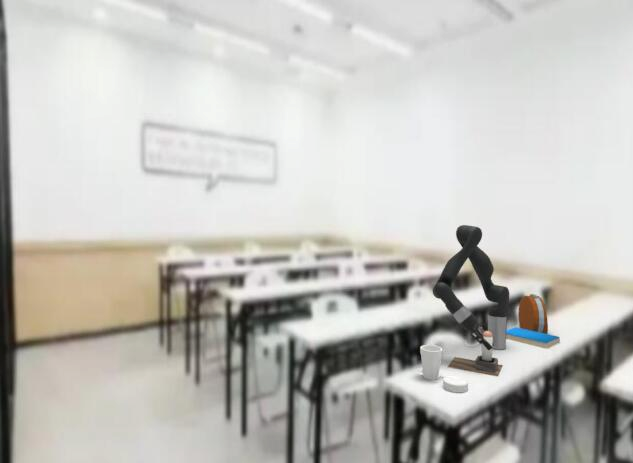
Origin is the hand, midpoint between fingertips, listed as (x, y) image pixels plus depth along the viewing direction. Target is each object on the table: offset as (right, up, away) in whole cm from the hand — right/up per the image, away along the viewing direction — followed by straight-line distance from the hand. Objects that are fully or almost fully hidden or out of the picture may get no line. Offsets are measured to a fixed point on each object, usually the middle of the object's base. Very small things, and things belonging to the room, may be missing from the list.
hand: (491, 347), depth 204 cm
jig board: (-6, -11, +4) cm, 13 cm away
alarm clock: (+51, -8, +67) cm, 85 cm away
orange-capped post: (-2, -6, +1) cm, 6 cm away
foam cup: (-29, -12, -7) cm, 32 cm away
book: (+41, -9, +49) cm, 65 cm away
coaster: (-22, -13, -18) cm, 31 cm away
